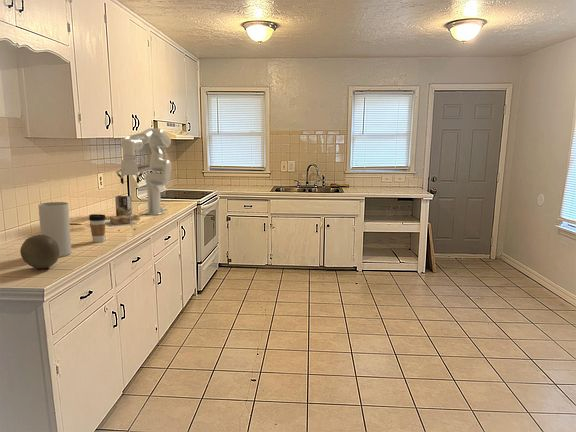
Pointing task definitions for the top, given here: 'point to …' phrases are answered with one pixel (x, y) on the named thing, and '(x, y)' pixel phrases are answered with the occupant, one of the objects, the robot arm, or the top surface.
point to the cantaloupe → (40, 251)
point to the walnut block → (119, 220)
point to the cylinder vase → (56, 224)
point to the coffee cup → (97, 227)
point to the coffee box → (123, 205)
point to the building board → (119, 225)
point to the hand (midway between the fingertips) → (130, 183)
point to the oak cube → (134, 216)
